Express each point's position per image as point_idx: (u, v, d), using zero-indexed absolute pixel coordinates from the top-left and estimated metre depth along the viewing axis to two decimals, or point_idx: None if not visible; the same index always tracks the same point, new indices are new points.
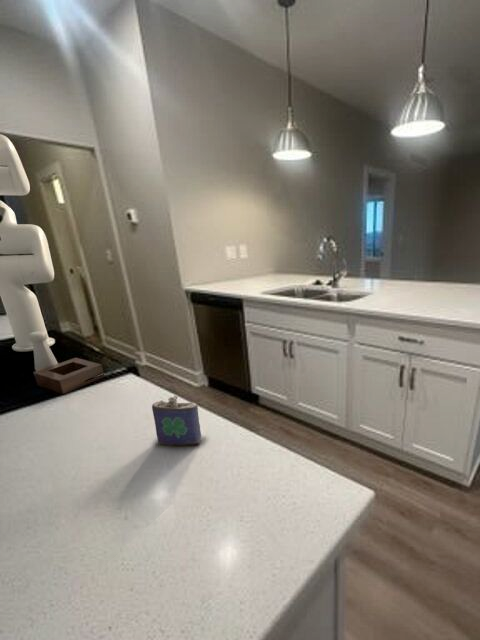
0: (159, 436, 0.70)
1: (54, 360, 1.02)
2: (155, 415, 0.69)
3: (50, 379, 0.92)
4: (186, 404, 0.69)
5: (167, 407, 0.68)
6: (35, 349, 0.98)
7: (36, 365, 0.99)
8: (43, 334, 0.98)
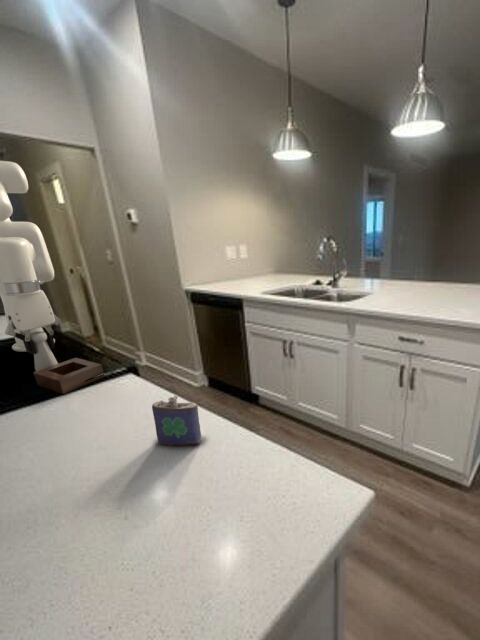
0: (159, 436, 0.70)
1: (54, 360, 1.02)
2: (155, 415, 0.69)
3: (50, 379, 0.92)
4: (186, 404, 0.69)
5: (167, 407, 0.68)
6: None
7: (36, 365, 0.99)
8: (43, 334, 0.98)
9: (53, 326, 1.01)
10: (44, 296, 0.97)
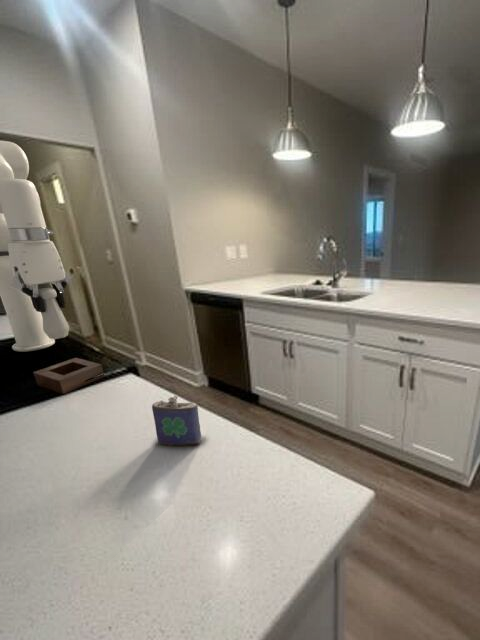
0: (159, 436, 0.70)
1: (64, 321, 0.92)
2: (155, 415, 0.69)
3: (50, 379, 0.92)
4: (186, 404, 0.69)
5: (167, 407, 0.68)
6: None
7: (44, 325, 0.90)
8: (52, 290, 0.89)
9: (63, 283, 0.92)
10: (54, 247, 0.87)
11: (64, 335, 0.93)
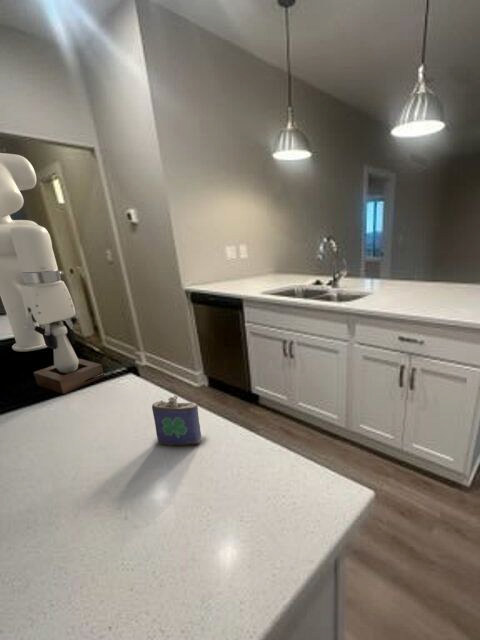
0: (159, 436, 0.70)
1: (74, 356, 0.96)
2: (155, 415, 0.69)
3: (50, 379, 0.92)
4: (186, 404, 0.69)
5: (167, 407, 0.68)
6: None
7: (56, 361, 0.94)
8: (63, 328, 0.92)
9: (73, 319, 0.95)
10: (65, 287, 0.91)
11: (74, 369, 0.97)
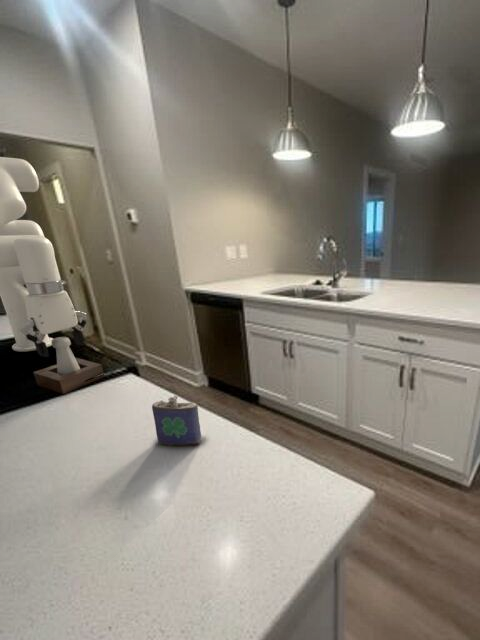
0: (159, 436, 0.70)
1: (77, 367, 0.97)
2: (155, 415, 0.69)
3: (50, 379, 0.92)
4: (186, 404, 0.69)
5: (167, 407, 0.68)
6: (58, 356, 0.94)
7: (59, 372, 0.95)
8: (67, 340, 0.94)
9: (83, 322, 0.98)
10: (67, 297, 0.92)
11: None
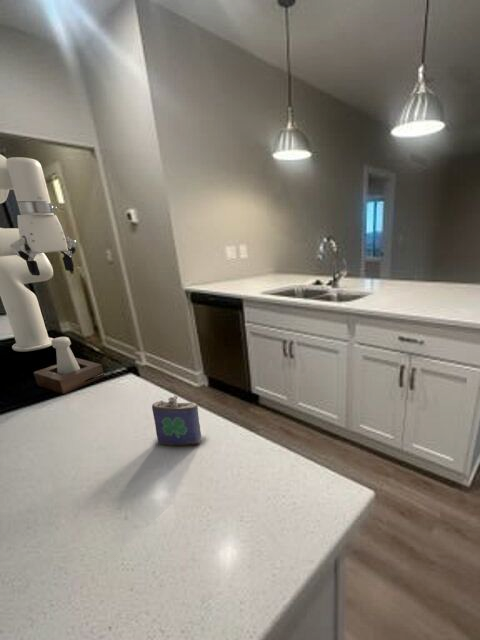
0: (159, 436, 0.70)
1: (77, 367, 0.97)
2: (155, 415, 0.69)
3: (50, 379, 0.92)
4: (186, 404, 0.69)
5: (167, 407, 0.68)
6: (58, 356, 0.94)
7: (59, 372, 0.95)
8: (67, 340, 0.94)
9: (72, 249, 1.04)
10: (57, 220, 0.98)
11: None
